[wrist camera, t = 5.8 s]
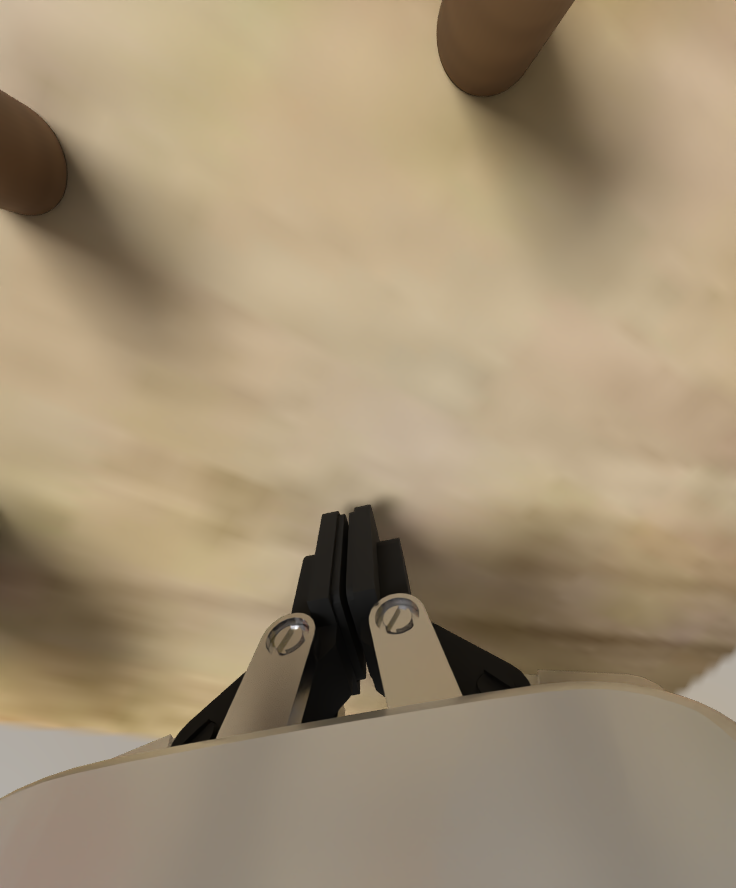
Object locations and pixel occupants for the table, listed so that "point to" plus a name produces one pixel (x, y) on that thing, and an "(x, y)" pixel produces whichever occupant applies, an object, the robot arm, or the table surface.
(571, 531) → the table surface
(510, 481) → the table surface
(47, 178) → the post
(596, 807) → the robot arm
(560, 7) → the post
